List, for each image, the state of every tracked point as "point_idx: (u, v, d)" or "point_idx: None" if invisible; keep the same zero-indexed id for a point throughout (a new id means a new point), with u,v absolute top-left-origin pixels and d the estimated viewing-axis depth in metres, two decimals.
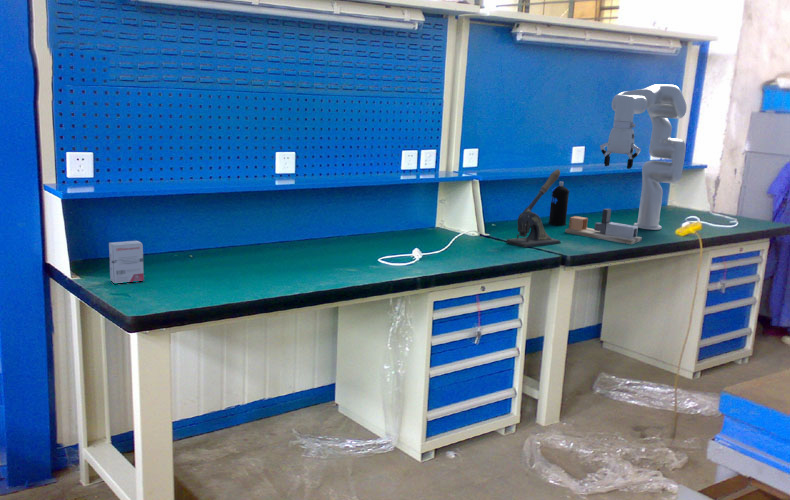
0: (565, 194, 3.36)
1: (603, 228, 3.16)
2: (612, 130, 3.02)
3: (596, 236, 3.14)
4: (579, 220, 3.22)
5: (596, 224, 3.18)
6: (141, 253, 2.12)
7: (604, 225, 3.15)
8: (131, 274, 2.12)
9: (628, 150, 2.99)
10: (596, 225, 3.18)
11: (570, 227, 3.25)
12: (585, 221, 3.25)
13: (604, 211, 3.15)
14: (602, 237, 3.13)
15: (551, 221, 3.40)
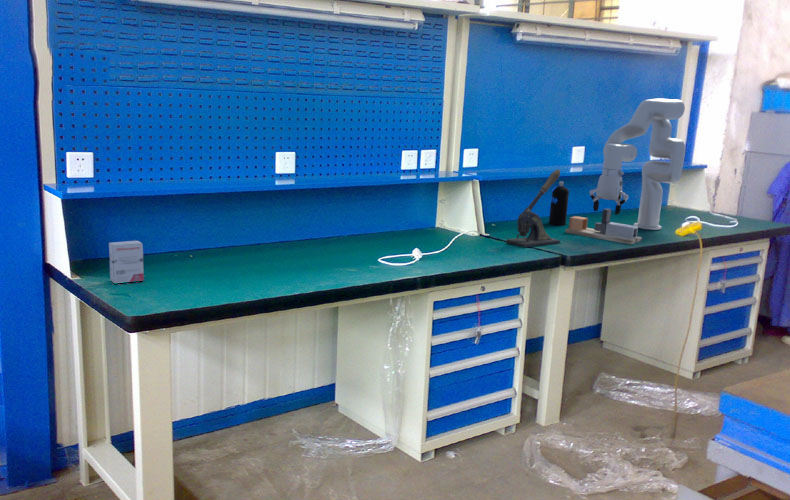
0: (565, 194, 3.36)
1: (603, 228, 3.16)
2: (601, 177, 3.13)
3: (596, 236, 3.14)
4: (579, 220, 3.22)
5: (596, 224, 3.18)
6: (141, 253, 2.12)
7: (604, 225, 3.15)
8: (131, 274, 2.12)
9: (616, 197, 3.10)
10: (596, 225, 3.18)
11: (570, 227, 3.25)
12: (585, 221, 3.25)
13: (604, 211, 3.15)
14: (602, 237, 3.13)
15: (551, 221, 3.40)
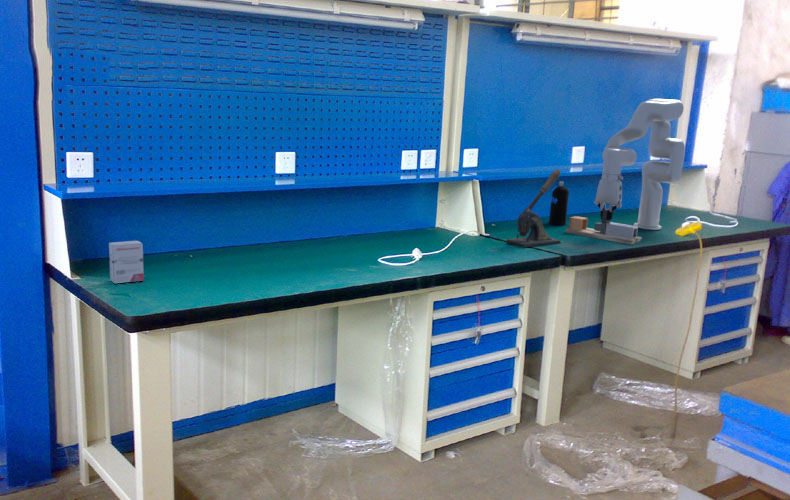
0: (565, 194, 3.36)
1: (603, 228, 3.16)
2: (601, 182, 3.14)
3: (596, 236, 3.14)
4: (579, 220, 3.22)
5: (596, 224, 3.18)
6: (141, 253, 2.12)
7: (604, 225, 3.15)
8: (131, 274, 2.12)
9: (616, 201, 3.11)
10: (596, 225, 3.18)
11: (570, 227, 3.25)
12: (585, 221, 3.25)
13: (604, 211, 3.15)
14: (602, 237, 3.13)
15: (551, 221, 3.40)
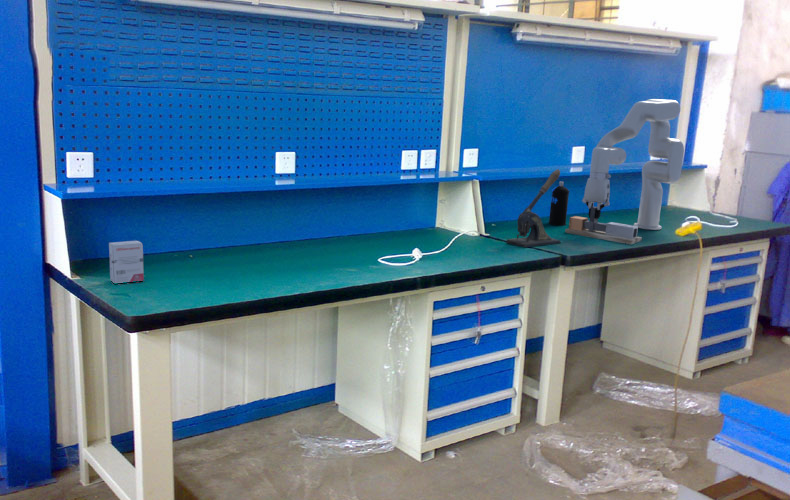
0: (565, 194, 3.36)
1: (591, 226, 3.19)
2: (589, 180, 3.17)
3: (596, 236, 3.14)
4: (579, 220, 3.22)
5: (584, 222, 3.21)
6: (141, 253, 2.12)
7: (592, 223, 3.19)
8: (131, 274, 2.12)
9: (604, 199, 3.14)
10: (584, 223, 3.21)
11: (570, 227, 3.25)
12: None
13: (592, 209, 3.18)
14: (602, 237, 3.13)
15: (551, 221, 3.40)
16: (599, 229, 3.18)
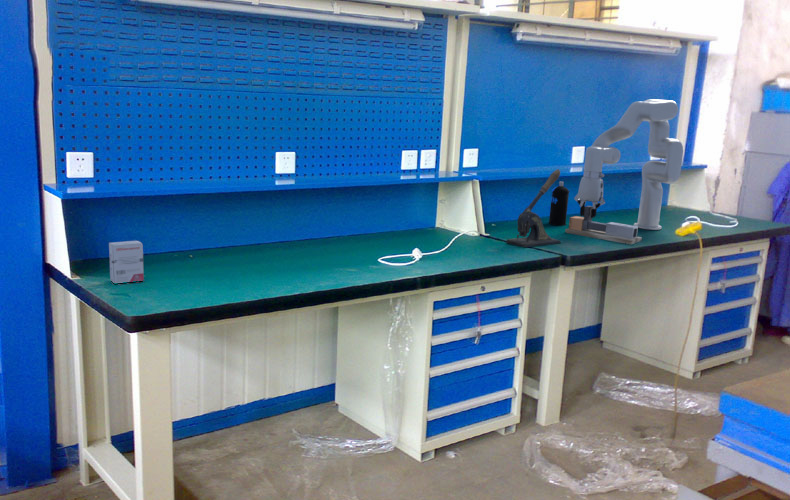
0: (565, 194, 3.36)
1: (585, 225, 3.21)
2: (582, 179, 3.19)
3: (596, 236, 3.14)
4: (579, 220, 3.22)
5: None
6: (141, 253, 2.12)
7: (586, 222, 3.20)
8: (131, 274, 2.12)
9: (597, 198, 3.16)
10: None
11: (570, 227, 3.25)
12: None
13: (586, 208, 3.20)
14: (602, 237, 3.13)
15: (551, 221, 3.40)
16: (593, 228, 3.19)
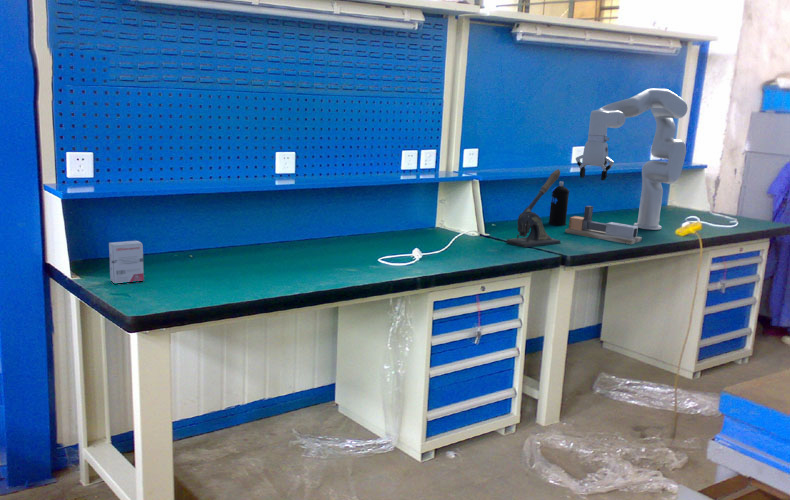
0: (565, 194, 3.36)
1: (585, 225, 3.21)
2: (587, 143, 3.15)
3: (596, 236, 3.14)
4: (579, 220, 3.22)
5: None
6: (141, 253, 2.12)
7: (586, 222, 3.20)
8: (131, 274, 2.12)
9: (602, 162, 3.13)
10: None
11: (570, 227, 3.25)
12: None
13: (586, 208, 3.20)
14: (602, 237, 3.13)
15: (551, 221, 3.40)
16: (593, 228, 3.19)
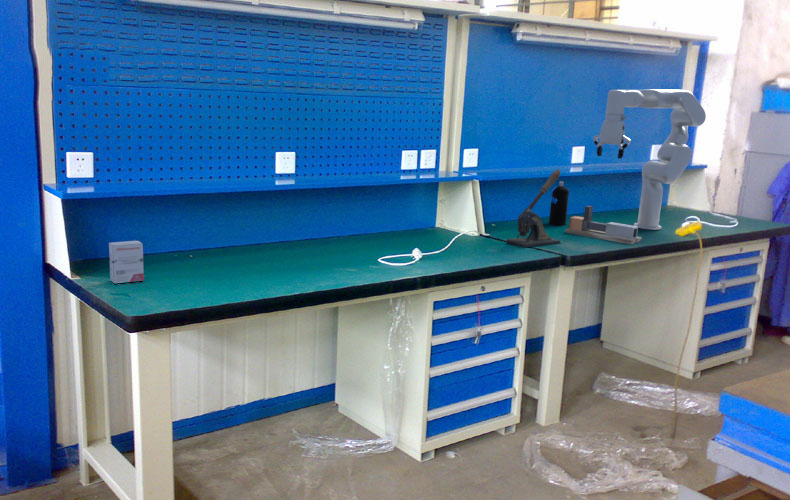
0: (565, 194, 3.36)
1: (585, 225, 3.21)
2: (604, 122, 3.23)
3: (596, 236, 3.14)
4: (579, 220, 3.22)
5: None
6: (141, 253, 2.12)
7: (586, 222, 3.20)
8: (131, 274, 2.12)
9: (619, 141, 3.20)
10: None
11: (570, 227, 3.25)
12: None
13: (586, 208, 3.20)
14: (602, 237, 3.13)
15: (551, 221, 3.40)
16: (593, 228, 3.19)
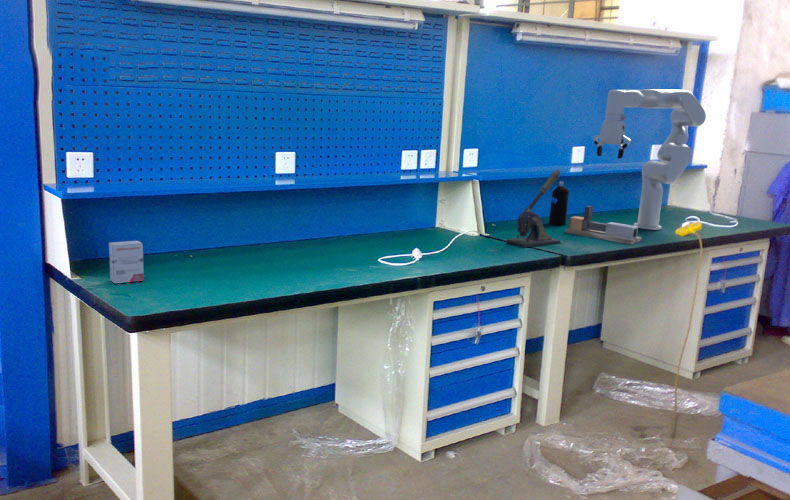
0: (565, 194, 3.36)
1: (585, 225, 3.21)
2: (604, 122, 3.23)
3: (596, 236, 3.14)
4: (579, 220, 3.22)
5: None
6: (141, 253, 2.12)
7: (586, 222, 3.20)
8: (131, 274, 2.12)
9: (619, 141, 3.20)
10: None
11: (570, 227, 3.25)
12: None
13: (586, 208, 3.20)
14: (602, 237, 3.13)
15: (551, 221, 3.40)
16: (593, 228, 3.19)
